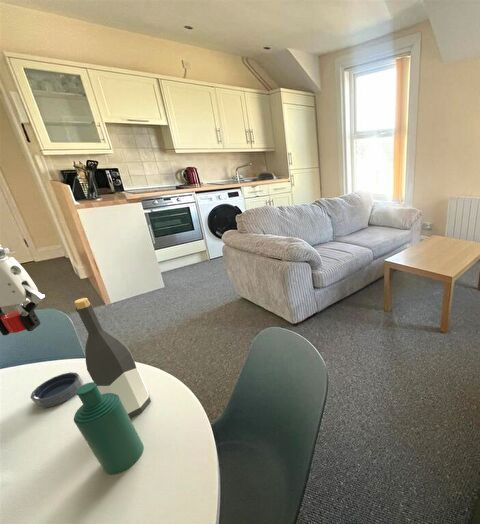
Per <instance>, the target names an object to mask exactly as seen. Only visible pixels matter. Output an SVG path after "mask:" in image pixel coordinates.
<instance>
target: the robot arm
mask: <svg viewBox="0 0 480 524" xmlns="http://www.w3.org/2000/svg"><path fill="white" fill-rule="evenodd" d="M10 253H11V250H10V249H9V248H8V247H3V246H2V244H1V243H0V333H1V335H2V336H8V335H10V334H11V333H10V332H9V331H8V330H7V328H6V327H5V325H4V324H3V322H2V320H1V317H2V316H3V315H5V314H6V313H5V310H4V307H10V306H13V308H14V309H15V311H16V310H17V311H18V312H19V313H20V314H21V315H22V316H21V317H20V320H21V322H22V323H23V325H24V326H25V328H26V330H25V331H27V332H33V331H34V330H35V329H36V328H38V327H39V326H40V325H41V321H40V318H39V316H38V315H37V314H36V312H35V310H36V309H37V306H38V305H39V304H40V303H41V302H42V301H44V300H45V299H46V295H45V294H43V293H41V292H40V291H39V289H38V287H37V286H36V284H35V282H34V280H33V279H32V278H31V277H30V275H29V274H28V272H27V270H26V269H25V268H24V267H23V266H22V265H21V264H20V262H19V261H17V260H16V258H15V257H13V256H8V255H10ZM29 298H30V299H29Z"/></svg>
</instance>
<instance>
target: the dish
mask: <svg viewBox="0 0 480 524" xmlns="http://www.w3.org/2000/svg"><path fill="white" fill-rule="evenodd" d="M83 383H84V382H83V379H82V378H81V375H80V374H78V372H72V371H70V372H65V373H61V374H59V375H56V376H53V377H51V378H49V379H47V380H46V381H44V382H42V383H41V384H39V385H38V386H37V387H36V388H35V389H34V390H33V391H32V392H31V394H30V396H29V397H30V399H31V401H32V402H33V404H34V405H35V406H36V407H37V408H39V409H40V408H41V409H45V408H50V407H54V406H57V405H60V404H61V403H64V402H66V401H68V400H70V399H71V398H72V397H74V396H75V395H77V394H76V393H77V390H78V389H79V388H80V387H81V386H83V385H84V384H83Z"/></svg>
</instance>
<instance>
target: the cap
mask: <svg viewBox="0 0 480 524" xmlns="http://www.w3.org/2000/svg"><path fill="white" fill-rule="evenodd" d="M21 316H22V315H21V314H20V313H19V312H18V311H17V310H16V309H15V310H12V311H9V312H7V313H5V315H3V316H2V317H1V320H2V322H3V324H4V325H5V327H6V328H7V330H8V331H9V332H10V333H9V334H16V333H20V332H24V331H27V330H26V328H25V326H24V325H23V323H22V322H21V320H20V317H21Z"/></svg>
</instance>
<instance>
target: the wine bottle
mask: <svg viewBox="0 0 480 524" xmlns="http://www.w3.org/2000/svg"><path fill="white" fill-rule="evenodd" d="M74 305H75V311H76V313H78V316H79V318H80V320H81V321H82V324H83V326H84V329H86V332H87V334H88V335H87V337H86V342H85V345H84V346H85V349H84V352H85V353H84V355H85V357H84V358H85V365H86V370H87V373H88V374H89V377H90V378H91V380H92V382H94V383H95V384H97V387H98V389H99V391H100V393H101V394H106V393H113V394H117V395H118V396H119V398H120V400H121V402H122V404H123V406H124V408H125V410H126V412H127V414H128V416H129V418H130V419H131V418H133V417H135V416H138V415H140V414H141V413H143V412H144V410H145V409H146V408H147V407H148V406H149V404H150V403H151V402H152V399H151V396H150V394H149V391H148V388H147V386H146V384H145V382H144V379H143V377H142V375H141V373H140V370H139V368H138V366H137V363H136V361H135V359H134V357H133V354H132V352H131V350H130V348H129V345H127V344H126V342H125V341H124V340H123V339H122V338H121V337H119V336H118V335H116V334H115V333H113V332H112V331H109V330H107V329H105V328H104V327H103V326H102V324H101V322H100V320H99V318H98V316H97V314H96V311H95V310H94V308H93V304H92V302H90V301H89V298H87V297H81V298H79V299H76V300H74Z"/></svg>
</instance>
